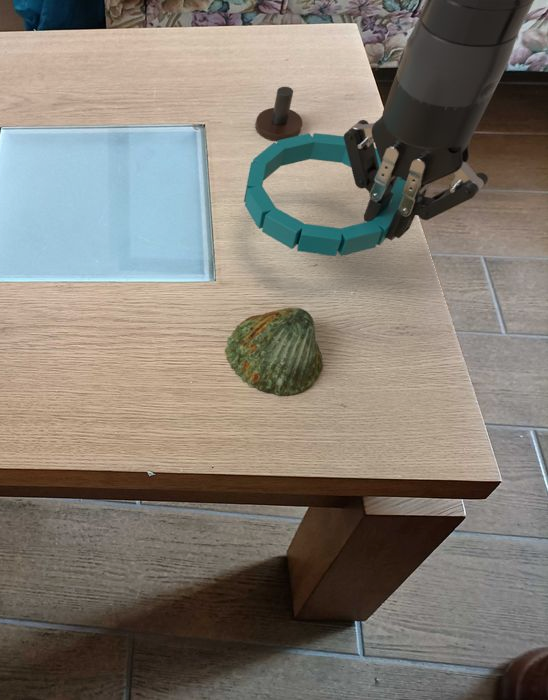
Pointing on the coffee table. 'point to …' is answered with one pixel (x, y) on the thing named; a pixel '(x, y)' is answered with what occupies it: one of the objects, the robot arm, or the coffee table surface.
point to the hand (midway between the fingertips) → (383, 229)
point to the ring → (307, 234)
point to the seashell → (276, 351)
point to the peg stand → (279, 118)
